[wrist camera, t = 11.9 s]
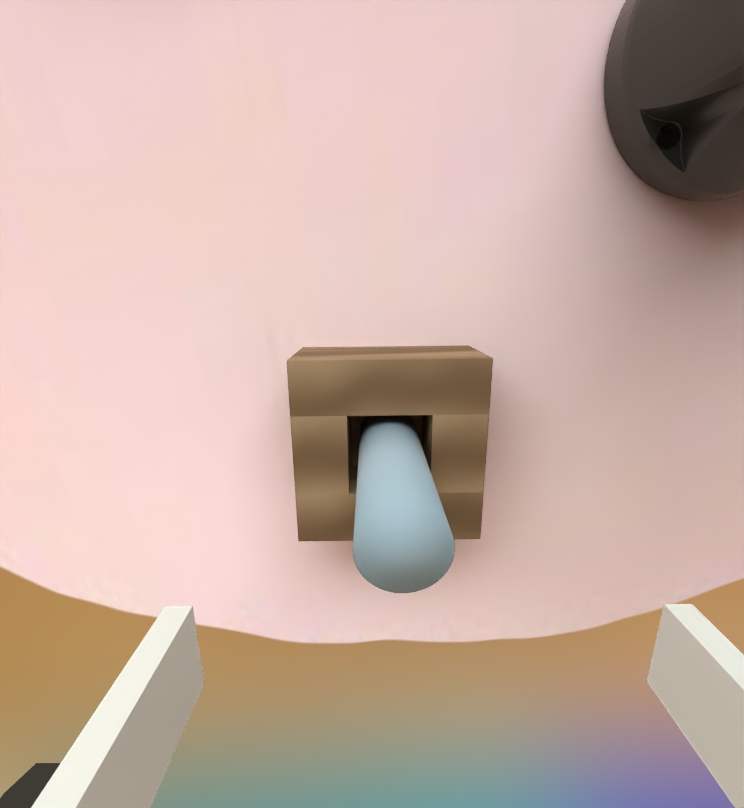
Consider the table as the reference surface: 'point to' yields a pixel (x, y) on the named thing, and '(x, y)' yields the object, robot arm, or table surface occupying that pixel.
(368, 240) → the table surface
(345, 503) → the socket block
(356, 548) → the pin
